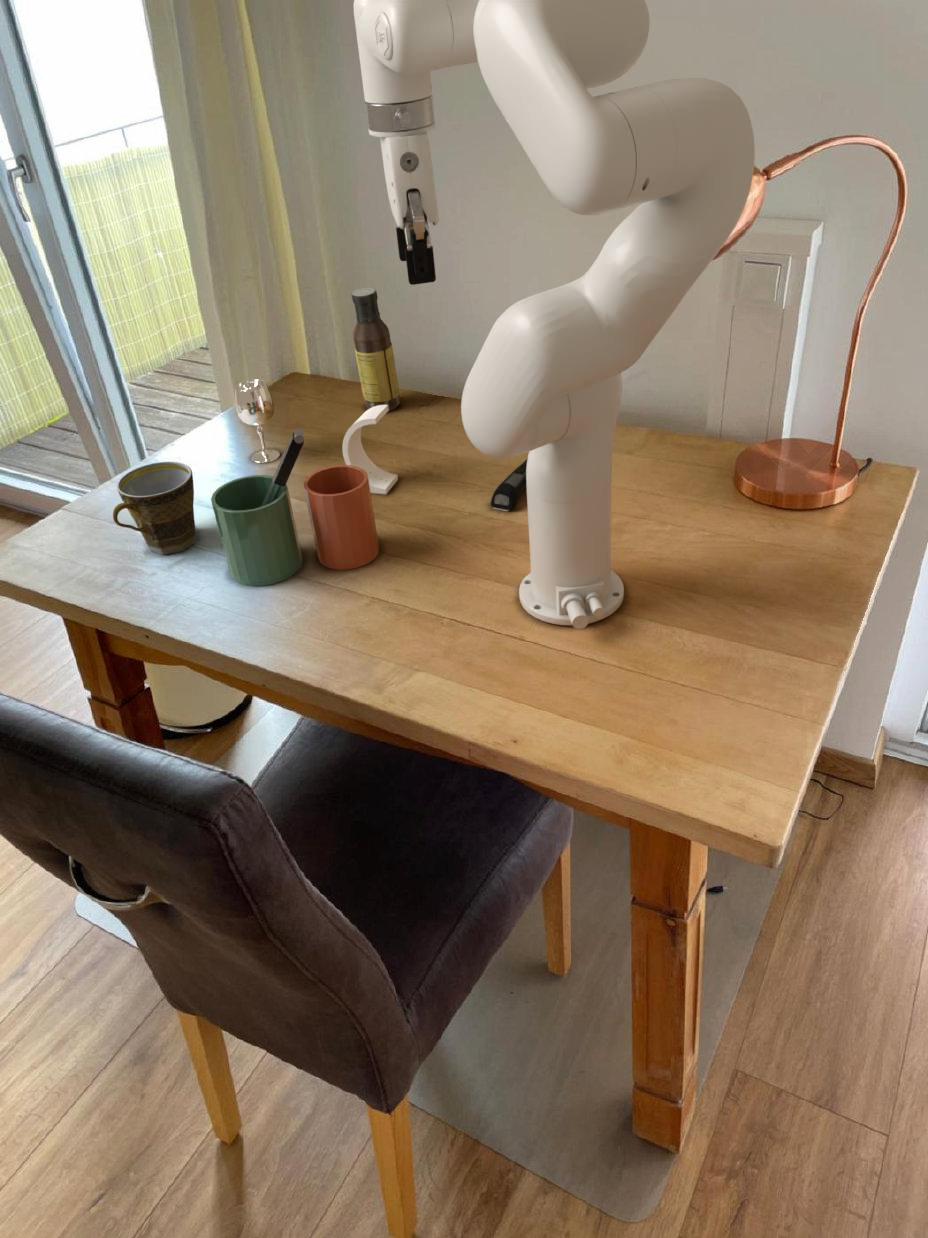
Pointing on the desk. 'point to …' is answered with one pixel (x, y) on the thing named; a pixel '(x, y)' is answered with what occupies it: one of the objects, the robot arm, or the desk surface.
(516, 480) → the electric trimmer
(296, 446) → the tongs
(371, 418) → the headphone stand
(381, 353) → the sauce bottle
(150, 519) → the ceramic cup
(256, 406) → the wineglass
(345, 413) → the desk surface
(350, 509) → the terracotta cup
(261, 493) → the green cup
